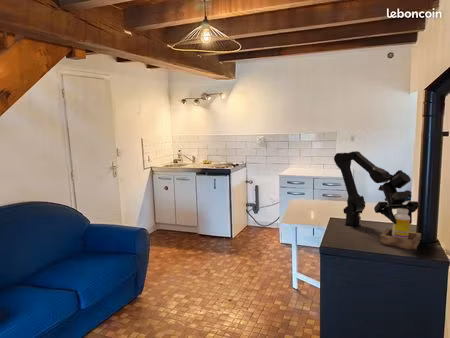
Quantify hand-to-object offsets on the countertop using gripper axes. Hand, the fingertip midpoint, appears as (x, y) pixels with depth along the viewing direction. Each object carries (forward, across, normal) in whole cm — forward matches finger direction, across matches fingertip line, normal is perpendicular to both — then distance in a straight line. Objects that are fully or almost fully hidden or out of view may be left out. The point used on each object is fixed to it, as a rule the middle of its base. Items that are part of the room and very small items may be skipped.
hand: (403, 223), depth 154 cm
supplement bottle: (+4, 0, +6) cm, 7 cm away
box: (+6, 0, +7) cm, 9 cm away
